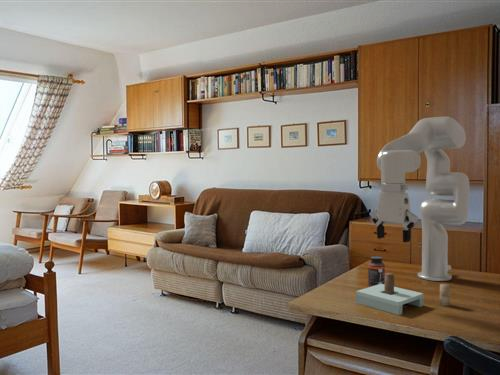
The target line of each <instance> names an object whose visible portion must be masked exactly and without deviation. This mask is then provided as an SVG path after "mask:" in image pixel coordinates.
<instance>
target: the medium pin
mask: <svg viewBox="0 0 500 375" xmlns="http://www.w3.org/2000/svg"><path fill="white" fill-rule="evenodd" d="M450 291H451V285H450V284H448V283H440V284H439V305H440V306H441V307H442V306H443V307H450V302H451V300H450V299H451V298H450V297H451V295H450V294H451V292H450Z"/></svg>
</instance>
